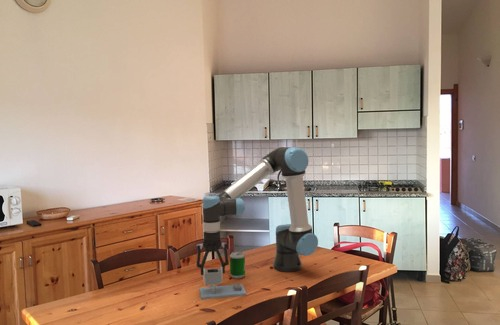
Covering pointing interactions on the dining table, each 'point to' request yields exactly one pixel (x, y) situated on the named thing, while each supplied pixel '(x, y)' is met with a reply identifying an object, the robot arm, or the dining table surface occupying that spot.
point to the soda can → (237, 265)
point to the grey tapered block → (213, 276)
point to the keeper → (222, 291)
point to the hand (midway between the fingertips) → (213, 281)
